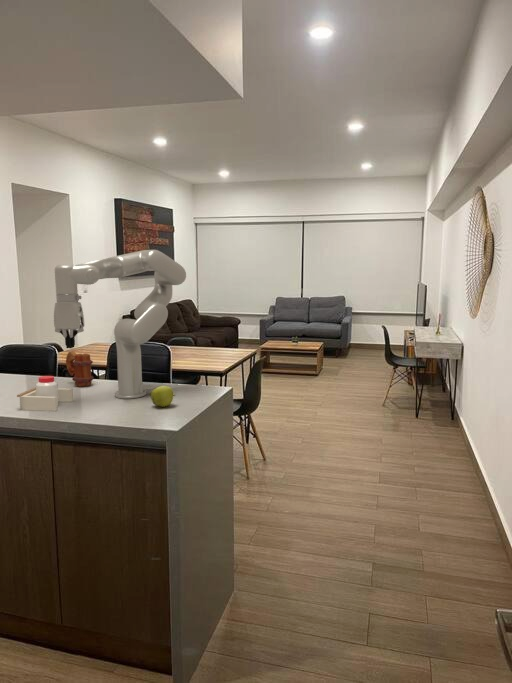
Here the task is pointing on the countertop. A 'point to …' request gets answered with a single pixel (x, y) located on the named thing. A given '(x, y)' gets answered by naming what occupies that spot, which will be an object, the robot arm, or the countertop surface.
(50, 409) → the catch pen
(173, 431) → the countertop surface
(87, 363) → the mug
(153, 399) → the apple
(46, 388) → the pill bottle
